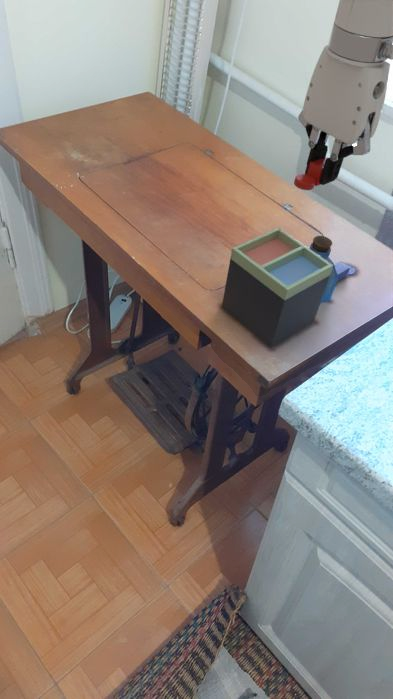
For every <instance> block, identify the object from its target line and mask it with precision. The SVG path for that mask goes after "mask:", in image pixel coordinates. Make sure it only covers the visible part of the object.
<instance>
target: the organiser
mask: <svg viewBox="0 0 393 699" xmlns="http://www.w3.org/2000/svg"><path fill="white" fill-rule="evenodd" d="M309 248H310V247H307V246H306V245H305V244H303V243H302V242H300V241H299V240H298V239H297V238H295V237H294V236H292V235H291V234H289V233H288V232H286V231H285V230H283V229H282V228H280V227H276V228H273V229H272V230H269V231H268V232H264V233H263V234H261V235H258V236H256V237H253V238H252V239H249V240H248V241H245V242H243V243H241V244H238V245H236V246H234V247H232V248H231V253H230V259H232V260H233V261H234V262H236V263H237V264H238V265H240V266H241V267H242V268H243V269H245V270H246V271H247V272H249V273H250V274H251V275H252V276H254V277H255V278H256V279H258V280H259V281H260V282H262V283H263V284H264V285H265V286H267V287H268V288H269V289H271V290H272V291H273V292H274V293H276V294H277V295H278V296H280V297H281V298H282V299H284V300H286V299H288V298H290V297H292V296H294V295H295V294H297V293H299V292H301V291H303V290H304V289H306V288H308V287H310V286H312V285H313V284H315V283H317V282H319V281H321V280H323V279H324V278H326V277H328V276H330V274H331V271H332V268H333V265H332V264H330V263H329V262H328V261H327V260H325V259H324V258H322V257H321V256H319V255H318V254H316V253H315V252H313V251H312V250H311V249H309Z"/></svg>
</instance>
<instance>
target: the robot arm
mask: <svg viewBox="0 0 393 699" xmlns="http://www.w3.org/2000/svg"><path fill="white" fill-rule="evenodd" d="M388 59H389V60H390V61H392V60H393V0H339V2H338V4H337V8H336V13H335V16H334V20H333V24H332V28H331V33H330V36H329V40H328V44H327V45H325V46H324V47H323V49H322V51H321V52H320V55H319V57H318V59H317V62H316V64H315V67H314V69H313V72H312V75H311V78H310V80H309V84H308V87H307V91H306V94H305V98H304V102H303V107H302V110H301V111H300V113H299V115H298V121H299V122H300V124H301V125H302V127H303V128H304V129H305V132H306V135H307V137H308V143H307V145H308V148H309V153H308V157H307V161H306V167H305V170H304V174H306V175H307V172H308V169H309V165H310V162H313V161H316V160H320V159H323V158H326V157H327V153H328V150H329V149H328V148H329V146H328V145H326V144H327V142H328V138H329V136H331V137H332V138H334V141H333V145H332V148H331V152H330V155H329V156H328V157H329V158H327V159H326V160H325V163H324V167H323V171H322V175H321V178H320V184H321V186H325V185H328V184H329V183H332V182H335V181H336V180H337V179H338V177H339V174H340V171H341V168H342V165H343V162H344V159H345V158H348V157H350V156H364V155H367V154H369V153H370V152H371V139H372V138H373V137H374V135H375V133H376V131H377V128H378V126H379V122H380V118H381V115H382V111H383V109H384V108H383V107H384V103H385V101H386V95H387V91H388V86H389V80H390V72H391V63H390V62H388V61H387V60H388Z"/></svg>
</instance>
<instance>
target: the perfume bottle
mask: <svg viewBox="0 0 393 699" xmlns="http://www.w3.org/2000/svg"><path fill="white" fill-rule="evenodd" d="M332 246H333V241H332V240H331V238H329V237H328V236H324V235H317V236H314V237H313V238H312V242H311V244H310V245H309V247H308V248H309V249H311V250H312V251H313V252H315V253H316V254H318V255H319V256H321V257H322V258H324V259H325V260H327V261H328V262H329V263H330V264H332V265H333V268H332V271H331V274H330V277H329V280H328V283H327V285H326V288H325V291H324V294H323V297H322V299H321V302H320V304H323V303H329V302H331V299H332V298H333V297H332V296H333V293H334V292H335V289H336V286H337V283H338V281H337V280H338V275H337V272H336V269H335V266H334V265H335V262H334V261H333V260H332V259H331V258H330V254H331V252H332V248H331V247H332Z"/></svg>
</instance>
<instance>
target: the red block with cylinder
mask: <svg viewBox="0 0 393 699" xmlns="http://www.w3.org/2000/svg"><path fill="white" fill-rule="evenodd" d="M329 157H330V156H326V157H325V158H323V159H320V160H316V161H313V162H310V165H309V169H308V172H307V175H306V174H305V173H299V174H296V175H295V178H294V181H293V185H294V186H295V187H296V188H298V189H300V190H303V191H312V190H313V189H315V187H317V186H322V184H320V178H321V175H322V171H323V167H324V163H325V160H326V159H327V158H329Z"/></svg>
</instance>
